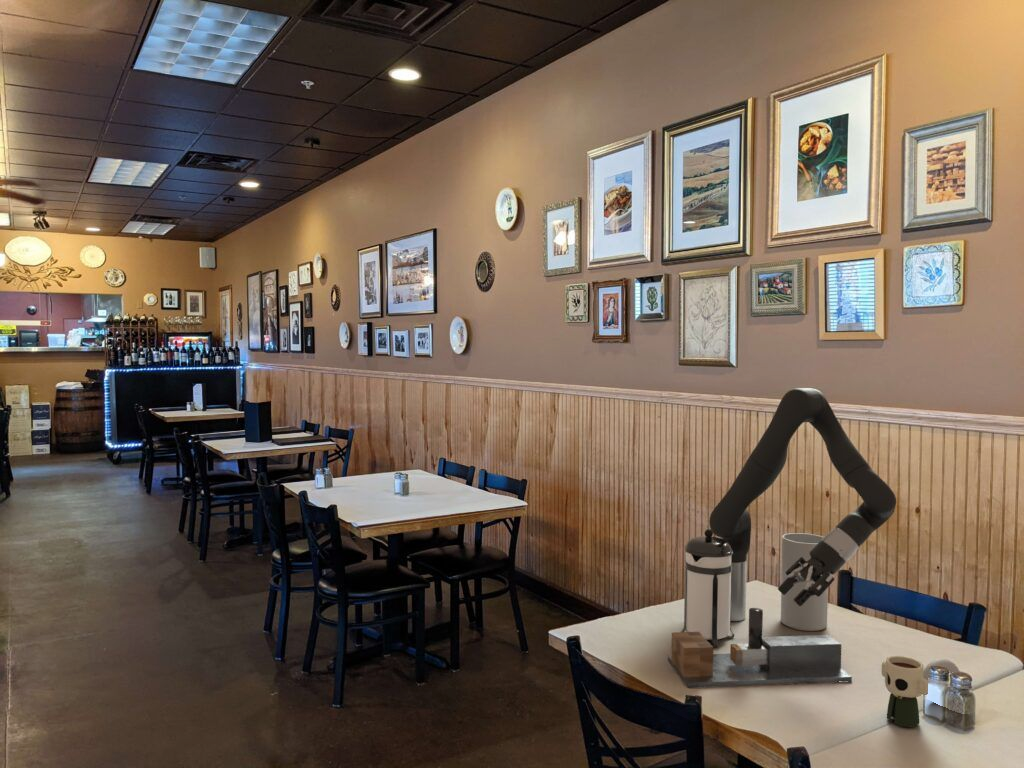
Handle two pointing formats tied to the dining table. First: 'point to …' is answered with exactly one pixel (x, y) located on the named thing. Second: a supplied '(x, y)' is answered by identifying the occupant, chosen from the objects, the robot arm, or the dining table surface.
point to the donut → (942, 663)
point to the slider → (751, 643)
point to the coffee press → (708, 587)
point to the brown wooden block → (692, 654)
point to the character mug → (904, 689)
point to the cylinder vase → (801, 586)
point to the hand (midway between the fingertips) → (788, 597)
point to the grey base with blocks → (779, 664)
